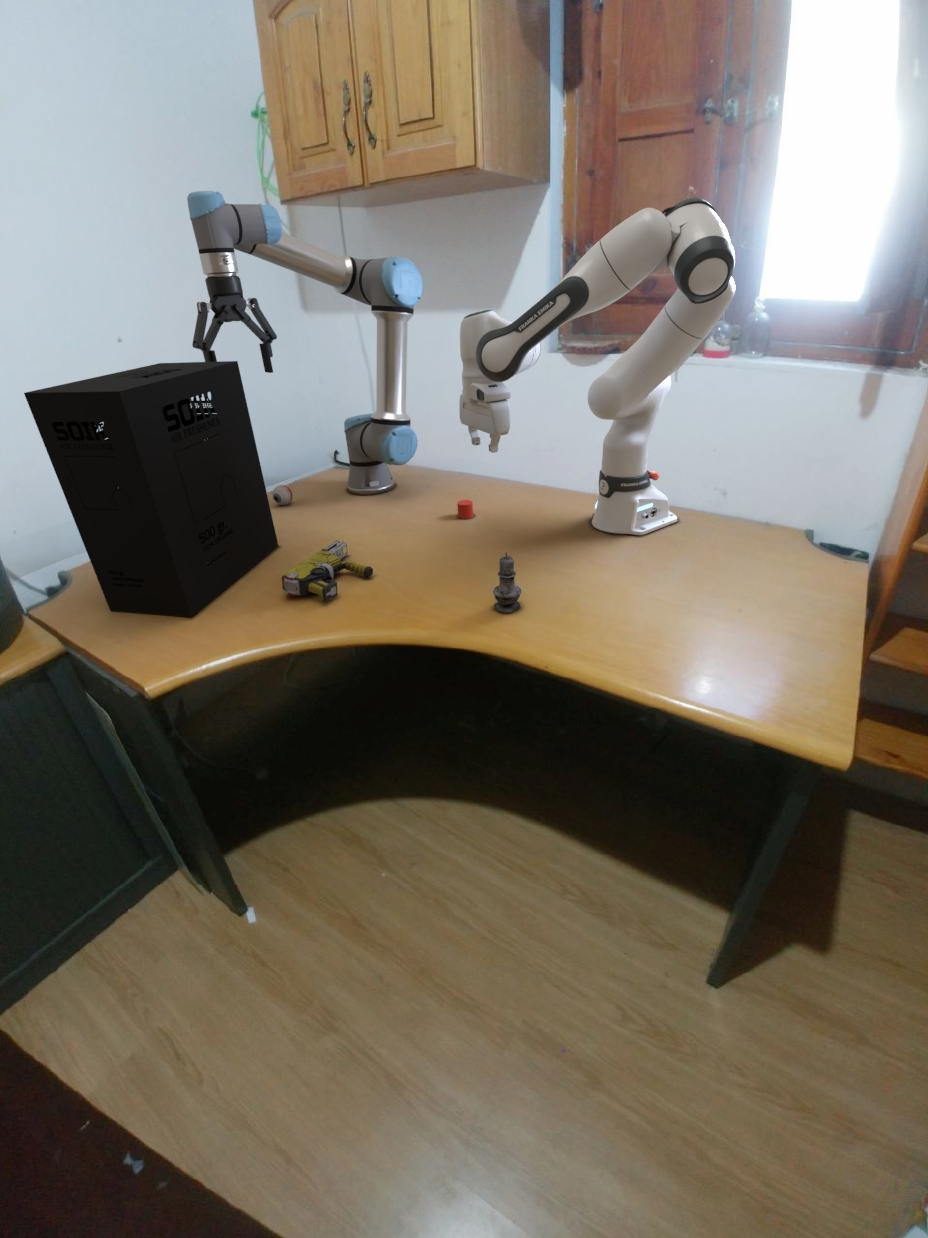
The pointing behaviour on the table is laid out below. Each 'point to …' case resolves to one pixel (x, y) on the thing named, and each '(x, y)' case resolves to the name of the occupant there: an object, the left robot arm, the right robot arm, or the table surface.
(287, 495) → the eyeball
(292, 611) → the table surface
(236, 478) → the cardboard box
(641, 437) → the right robot arm
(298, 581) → the toy gun
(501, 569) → the dark grey tapered piece
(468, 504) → the can
